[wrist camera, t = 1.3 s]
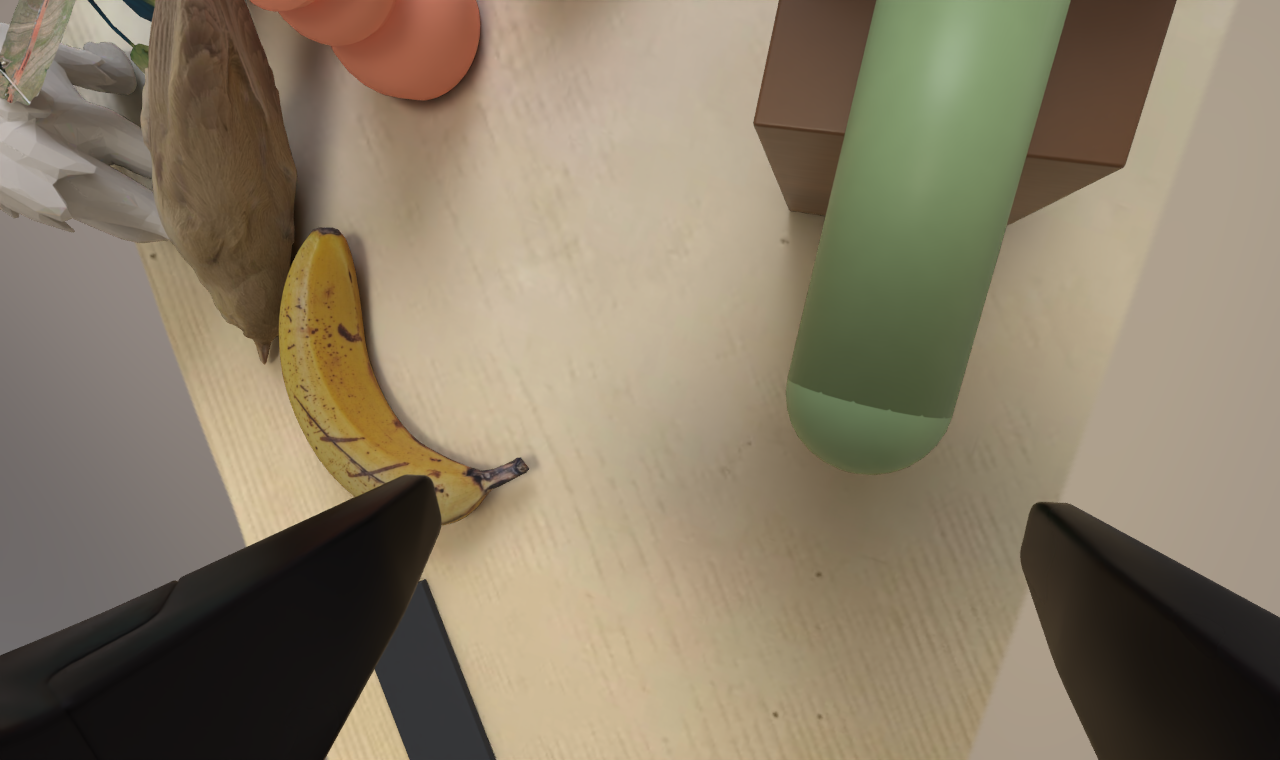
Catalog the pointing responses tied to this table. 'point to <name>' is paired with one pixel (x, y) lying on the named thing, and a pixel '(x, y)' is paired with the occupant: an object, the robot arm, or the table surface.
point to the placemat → (429, 688)
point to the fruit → (357, 387)
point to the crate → (1066, 124)
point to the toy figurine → (144, 7)
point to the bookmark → (31, 47)
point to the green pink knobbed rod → (916, 223)
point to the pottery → (392, 40)
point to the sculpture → (221, 158)
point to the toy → (78, 149)
